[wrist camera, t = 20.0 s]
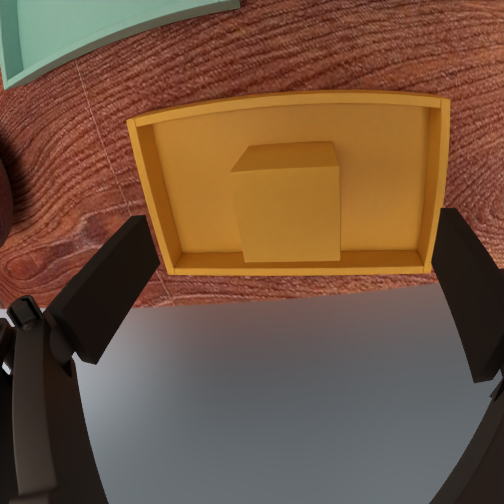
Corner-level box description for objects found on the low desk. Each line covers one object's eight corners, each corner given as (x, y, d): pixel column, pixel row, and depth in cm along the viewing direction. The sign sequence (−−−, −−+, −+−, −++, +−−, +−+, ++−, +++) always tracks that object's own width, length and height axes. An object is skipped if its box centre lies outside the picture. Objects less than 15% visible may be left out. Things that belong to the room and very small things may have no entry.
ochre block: (332, 140, 17) (339, 166, 13) (335, 216, 20) (340, 261, 16) (248, 145, 18) (228, 172, 14) (258, 219, 21) (244, 263, 17)
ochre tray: (434, 94, 15) (450, 99, 13) (421, 252, 21) (430, 273, 19) (145, 112, 19) (125, 120, 16) (180, 255, 24) (168, 275, 22)
